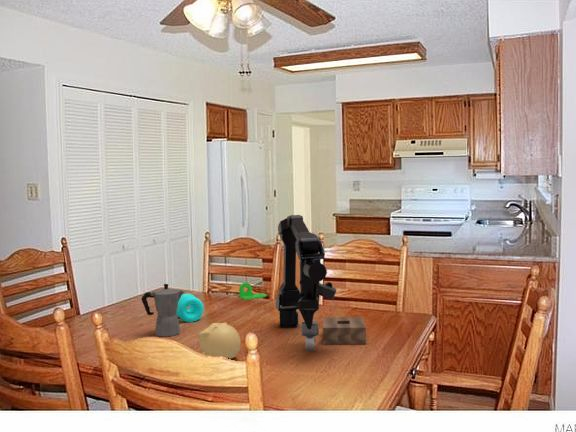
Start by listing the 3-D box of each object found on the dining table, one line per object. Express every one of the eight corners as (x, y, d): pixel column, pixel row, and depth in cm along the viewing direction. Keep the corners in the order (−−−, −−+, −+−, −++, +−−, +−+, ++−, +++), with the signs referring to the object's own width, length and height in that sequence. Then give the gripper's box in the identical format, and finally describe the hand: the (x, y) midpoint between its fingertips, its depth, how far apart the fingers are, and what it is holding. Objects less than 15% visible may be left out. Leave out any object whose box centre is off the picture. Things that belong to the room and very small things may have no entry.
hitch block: (323, 344, 181) (322, 327, 181) (323, 332, 195) (322, 317, 195) (366, 344, 180) (365, 327, 180) (363, 332, 194) (362, 317, 194)
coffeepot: (182, 327, 206) (180, 280, 205) (189, 333, 197) (187, 284, 196) (140, 333, 199) (138, 284, 198) (145, 340, 191) (143, 288, 190)
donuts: (197, 316, 224) (196, 291, 223) (204, 321, 215) (204, 296, 214) (173, 319, 220) (172, 294, 219) (179, 324, 211) (178, 298, 210)
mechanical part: (244, 302, 249) (243, 285, 248) (239, 300, 254) (239, 283, 254) (268, 299, 254) (268, 282, 254) (263, 297, 260) (262, 280, 259)
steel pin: (301, 352, 173) (301, 325, 172) (302, 347, 178) (301, 321, 178) (318, 352, 172) (318, 325, 172) (319, 347, 178) (318, 321, 177)
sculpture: (216, 350, 177) (215, 317, 177) (247, 355, 171) (246, 321, 170) (193, 360, 167) (192, 325, 167) (225, 366, 161) (224, 329, 161)
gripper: (335, 281, 164) (335, 333, 165) (334, 271, 183) (334, 317, 184) (297, 281, 165) (298, 333, 166) (300, 271, 183) (301, 317, 184)
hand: (309, 325), depth 175 cm, fingers open, 9 cm apart
